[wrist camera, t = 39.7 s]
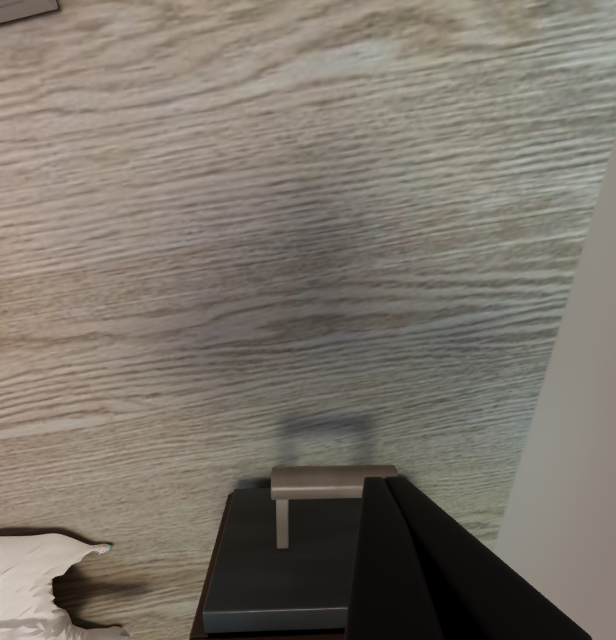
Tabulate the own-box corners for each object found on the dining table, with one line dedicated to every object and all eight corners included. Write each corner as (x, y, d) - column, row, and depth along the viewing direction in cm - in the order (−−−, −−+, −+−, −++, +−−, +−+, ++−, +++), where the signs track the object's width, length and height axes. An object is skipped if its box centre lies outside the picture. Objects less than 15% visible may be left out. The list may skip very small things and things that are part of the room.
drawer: (230, 426, 18) (194, 526, 12) (420, 423, 19) (487, 518, 12) (242, 648, 22) (220, 815, 16) (398, 641, 23) (440, 802, 16)
